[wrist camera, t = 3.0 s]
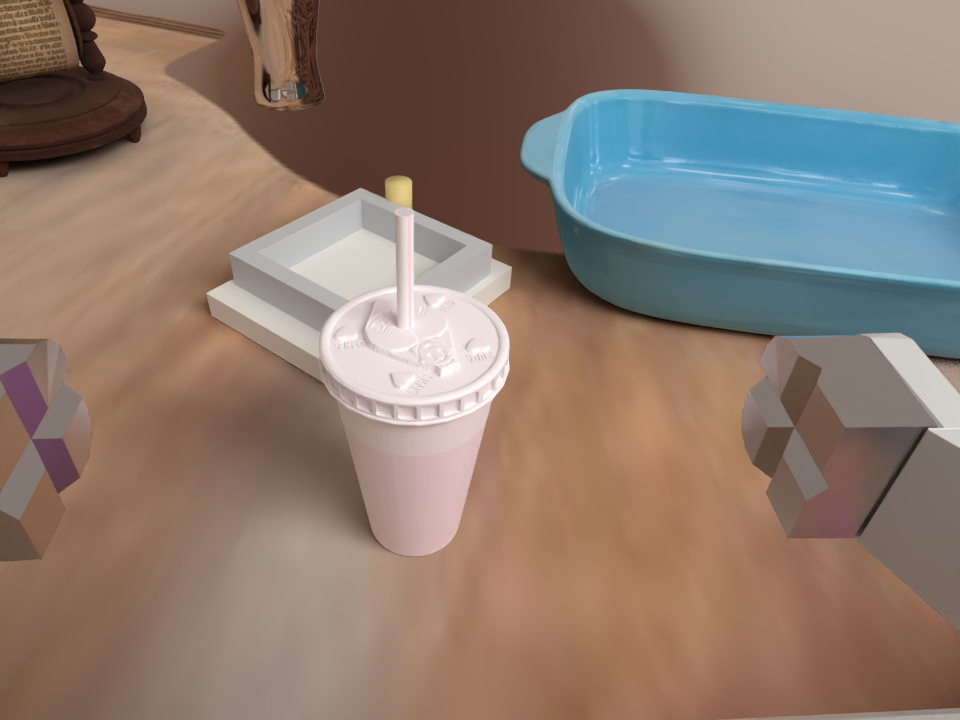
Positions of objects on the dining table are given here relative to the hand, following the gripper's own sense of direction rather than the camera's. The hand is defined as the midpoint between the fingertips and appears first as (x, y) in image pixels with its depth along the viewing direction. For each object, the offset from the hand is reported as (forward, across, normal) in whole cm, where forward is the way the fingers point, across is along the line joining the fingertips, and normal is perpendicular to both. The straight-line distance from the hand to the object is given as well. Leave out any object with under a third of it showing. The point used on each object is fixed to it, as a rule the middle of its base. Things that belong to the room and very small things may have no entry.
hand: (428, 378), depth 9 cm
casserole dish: (+32, -24, +19) cm, 45 cm away
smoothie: (+12, 0, +19) cm, 23 cm away
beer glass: (+58, +12, +18) cm, 62 cm away
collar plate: (+28, +3, +19) cm, 34 cm away
